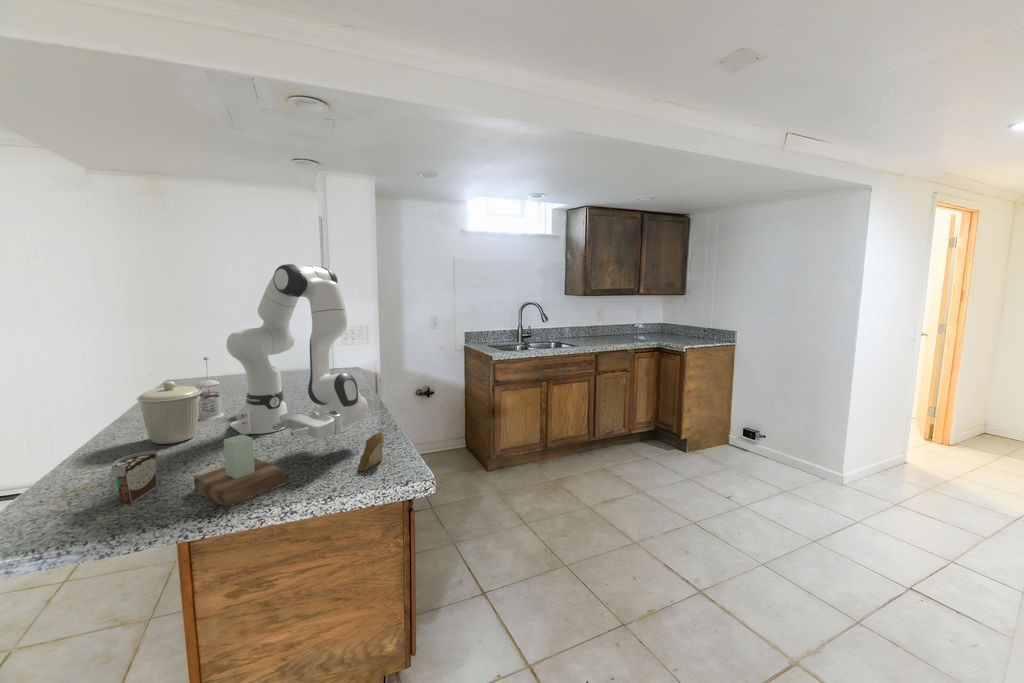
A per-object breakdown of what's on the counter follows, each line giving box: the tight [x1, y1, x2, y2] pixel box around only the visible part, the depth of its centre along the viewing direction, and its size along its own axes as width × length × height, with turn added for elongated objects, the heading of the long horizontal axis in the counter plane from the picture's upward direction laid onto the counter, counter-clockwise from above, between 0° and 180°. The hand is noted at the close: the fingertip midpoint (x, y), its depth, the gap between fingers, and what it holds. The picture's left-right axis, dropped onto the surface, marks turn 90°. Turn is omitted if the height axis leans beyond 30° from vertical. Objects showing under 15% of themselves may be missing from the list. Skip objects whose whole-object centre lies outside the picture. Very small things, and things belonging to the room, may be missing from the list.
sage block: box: [223, 434, 255, 479], centre depth 123 cm, size 5×5×10 cm
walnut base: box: [193, 457, 287, 508], centre depth 124 cm, size 16×16×4 cm
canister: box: [136, 380, 202, 445], centre depth 158 cm, size 18×18×21 cm
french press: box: [195, 356, 225, 421], centre depth 185 cm, size 10×12×25 cm
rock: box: [357, 432, 385, 472], centre depth 141 cm, size 11×9×10 cm
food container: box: [110, 450, 159, 505], centre depth 118 cm, size 12×6×10 cm, turn 5°
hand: (282, 430), depth 134 cm, fingers open, 8 cm apart
